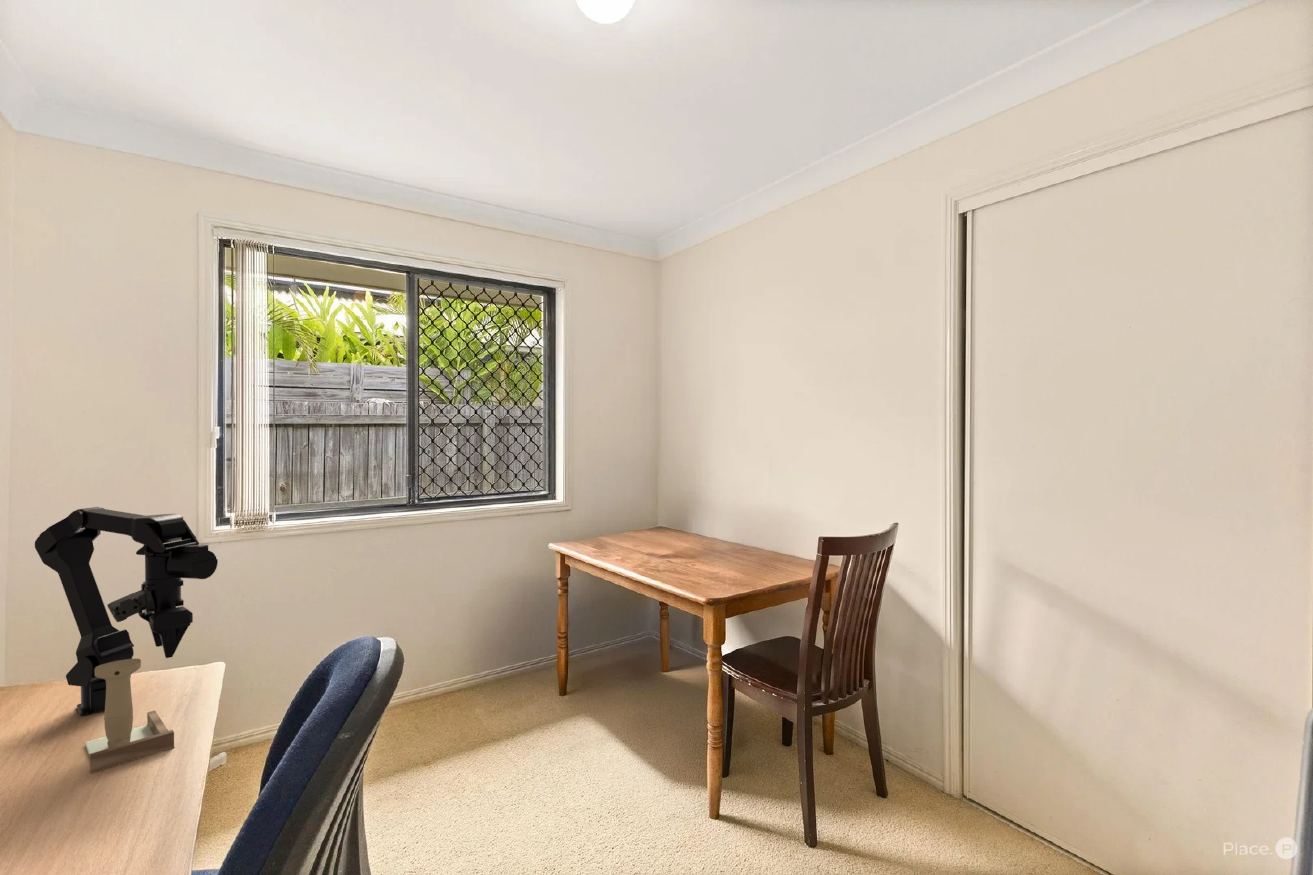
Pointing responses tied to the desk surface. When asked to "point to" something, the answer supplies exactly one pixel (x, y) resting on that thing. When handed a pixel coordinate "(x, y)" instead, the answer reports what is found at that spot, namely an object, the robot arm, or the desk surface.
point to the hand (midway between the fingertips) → (164, 651)
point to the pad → (102, 742)
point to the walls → (135, 746)
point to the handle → (118, 699)
